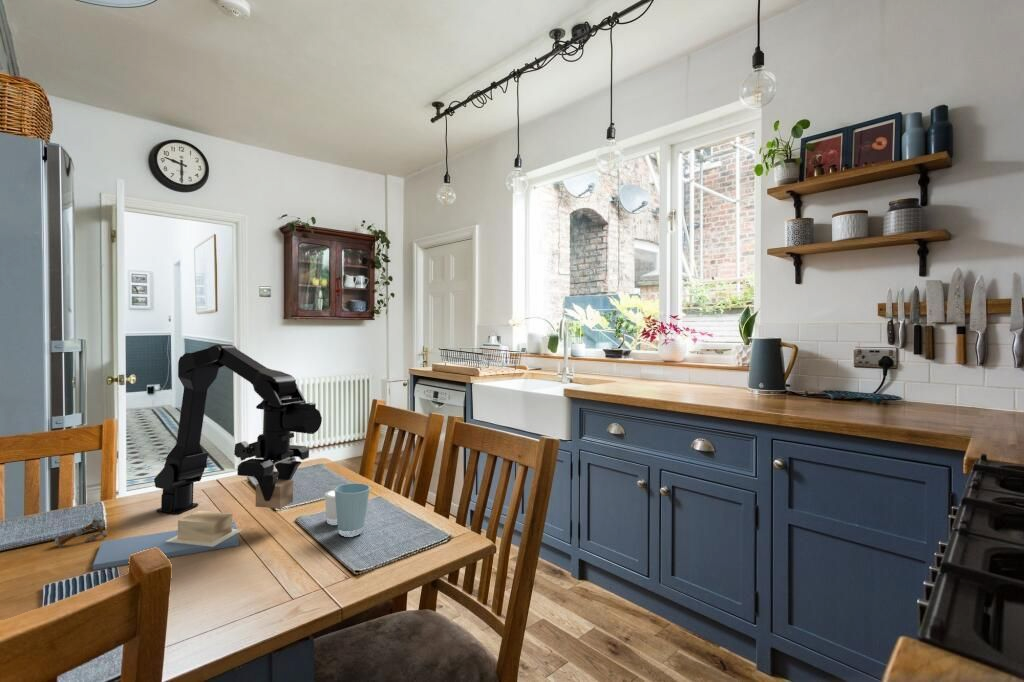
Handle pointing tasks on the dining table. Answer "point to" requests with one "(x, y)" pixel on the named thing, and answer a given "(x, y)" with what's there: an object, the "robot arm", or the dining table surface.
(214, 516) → the beech block
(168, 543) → the board
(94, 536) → the wooden post with brackets
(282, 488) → the walnut block
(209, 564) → the dining table surface
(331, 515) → the shot glass
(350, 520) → the cup
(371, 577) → the dining table surface
